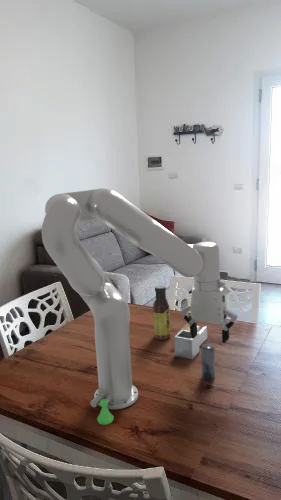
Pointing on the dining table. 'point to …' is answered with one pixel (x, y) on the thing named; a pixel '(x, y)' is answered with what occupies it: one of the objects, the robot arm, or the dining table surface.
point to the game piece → (104, 413)
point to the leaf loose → (202, 335)
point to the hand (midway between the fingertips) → (209, 338)
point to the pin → (208, 362)
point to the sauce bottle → (161, 314)
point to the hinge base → (186, 343)
